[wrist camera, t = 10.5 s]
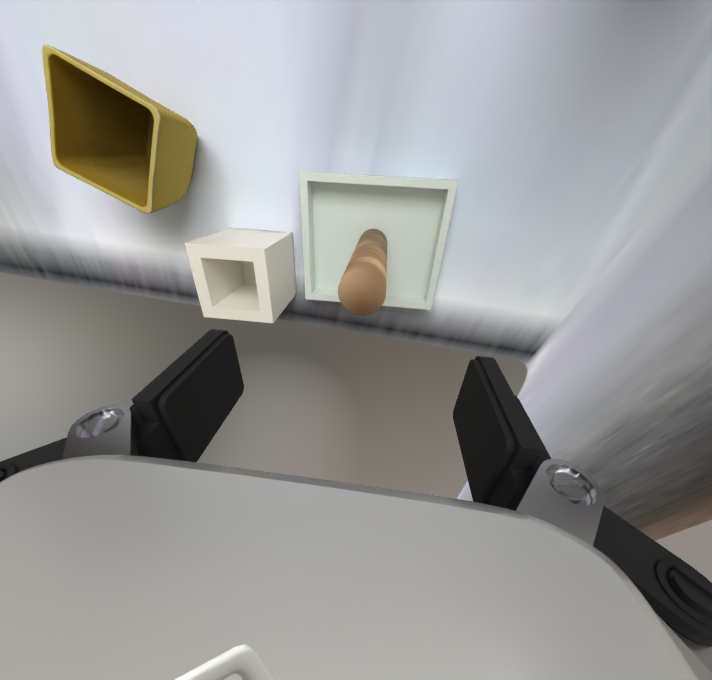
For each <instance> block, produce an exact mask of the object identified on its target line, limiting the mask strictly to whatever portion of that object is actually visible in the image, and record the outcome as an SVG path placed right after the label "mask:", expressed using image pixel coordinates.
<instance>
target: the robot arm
mask: <svg viewBox="0 0 712 680" xmlns="http://www.w3.org/2000/svg"><path fill="white" fill-rule="evenodd" d="M243 390H244V384H243V380H242V375H241V371H240V367H239V362H238V357H237V353H236V348H235V344H234V339H233V337H232V335H229V333H228V331H225V330H215V329H212V330H209V331H208V332H207V333H206V334H205V335H204V336H203V337H202V338H201V339H199V340H198V341H197V342H196V343H195V344H194V345H193V346H191V347H190V348H189V349H188V350H187V351H186V352H185V353H184V354H182V355H181V356H180V357H179V358H178V359H177V360H176V361H174V363H172V364H171V365H170V366H169V367H168V368H166V369H165V370H164V371H163V372H162V373H161V374H160V375H159V376H158V377H156V378H155V379H154V380H153V381H152V382H151V383H150V384H149V385H147V386H146V387H145V388H144V389H143V390H142V391H141V392H140V393H138V394H137V395H136V396H135V397H134V398H133V399H132V401H133V403H134V405H132V406H131V407H130V408H128V407H127V406H124V405H119V404H118V405H108V406H104V407H101V408H98V409H95V410H93V411H91V412H89V413H87V414H86V415H84V416H83V417H81V418H80V419H78V420H77V421H76V422H75V423H74V424H73V425H72V426H71V428H70V430H69V432H68V436H67V438H64V439H61V440H59V441H56V442H53V443H51V444H48V445H45V446H42V447H40V448H37V449H34V450H31V451H28V452H26V453H23V454H21V455H18V456H15V457H12V458H10V459H7V460H4V461H1V462H0V680H712V583H711V582H710V581H709V580H707V578H706V577H704V576H703V575H702V574H700V573H699V572H697V570H695V569H694V568H693V567H691V566H690V565H688V564H687V563H686V562H684V561H683V560H681V559H680V558H678V557H677V556H675V555H674V554H672V553H671V552H670V551H668V550H667V549H665V548H664V547H662V546H661V545H660V544H658V543H657V542H655V541H654V540H652V539H651V538H649V537H648V536H647V535H645V534H644V533H642V532H641V531H639V530H638V529H636V528H635V527H634V526H632V525H631V524H629V523H628V522H626V521H625V520H623V519H622V518H620V517H619V516H618V515H616V514H615V513H613V512H612V511H610V510H609V509H607V508H606V507H605V506H604V496H603V494H602V492H601V489H600V488H599V486H598V485H597V484H596V482H595V481H594V480H593V479H592V478H591V477H590V476H589V475H588V474H587V473H586V472H584V471H583V470H581V469H580V468H578V467H577V466H575V465H573V464H571V463H569V462H566V461H563V460H559V459H551V457H550V456H549V454H548V452H547V450H546V448H545V446H544V445H543V443H542V441H541V439H540V437H539V435H538V434H537V432H536V430H535V428H534V426H533V424H532V423H531V421H530V419H529V417H528V415H527V413H526V412H525V410H524V408H523V406H522V404H521V402H520V401H519V399H518V398H517V396H515V395H514V394H513V392H512V391H511V388H510V387H509V385H508V383H507V381H506V379H505V377H504V375H503V374H502V372H501V370H500V368H499V366H498V364H497V362H496V360H495V359H494V358H490V357H480V356H477V357H476V358H475V360H470V362H469V365H468V368H467V371H466V374H465V377H464V380H463V383H462V386H461V389H460V392H459V395H458V398H457V401H456V404H455V408H454V411H453V420H454V424H455V427H456V432H457V436H458V440H459V444H460V449H461V453H462V457H463V461H464V465H465V469H466V473H467V478H468V482H469V486H470V490H471V494H472V498H473V501H474V502H471V501H465V500H459V499H453V498H446V497H440V496H434V495H428V494H421V493H414V492H406V491H399V490H392V489H386V488H378V487H371V486H365V485H358V484H350V483H343V482H337V481H329V480H322V479H315V478H308V477H301V476H293V475H286V474H279V473H271V472H264V471H257V470H248V469H242V468H233V467H226V466H219V465H211V464H204V463H196V462H197V461H198V459H199V458H200V456H201V455H202V453H203V452H204V450H205V449H206V447H207V446H208V444H209V443H210V441H211V440H212V438H213V437H214V435H215V434H216V432H217V431H218V429H219V428H220V426H221V425H222V423H223V422H224V420H225V419H226V417H227V416H228V414H229V413H230V411H231V410H232V408H233V407H234V405H235V404H236V402H237V401H238V399H239V398H240V396H241V395H242V393H243Z"/></svg>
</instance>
